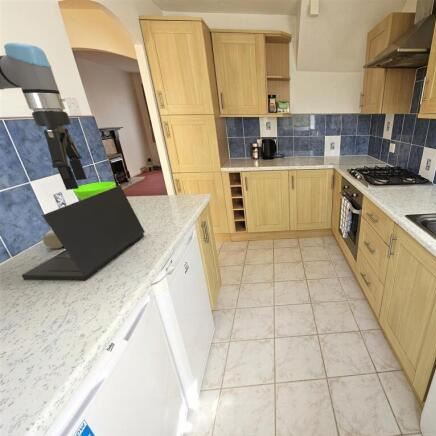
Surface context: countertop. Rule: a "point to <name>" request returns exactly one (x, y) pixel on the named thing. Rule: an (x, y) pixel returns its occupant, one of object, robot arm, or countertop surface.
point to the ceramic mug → (52, 240)
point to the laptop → (66, 267)
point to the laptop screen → (95, 227)
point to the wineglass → (93, 189)
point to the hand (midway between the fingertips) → (77, 184)
